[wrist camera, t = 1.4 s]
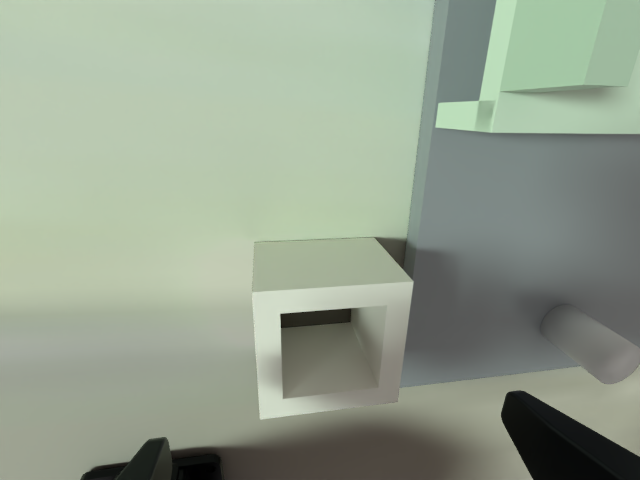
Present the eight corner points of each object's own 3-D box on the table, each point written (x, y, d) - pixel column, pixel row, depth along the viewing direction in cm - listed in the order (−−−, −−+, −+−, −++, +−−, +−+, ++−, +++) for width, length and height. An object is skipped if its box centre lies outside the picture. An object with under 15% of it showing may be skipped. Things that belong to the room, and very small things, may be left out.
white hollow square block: (366, 335, 16) (397, 402, 12) (259, 344, 15) (259, 419, 12) (373, 237, 14) (413, 281, 11) (254, 242, 13) (252, 292, 10)
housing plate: (620, 347, 19) (705, 402, 16) (390, 373, 17) (426, 444, 13) (807, -101, 12) (1043, -193, 9) (453, -158, 10) (567, -315, 6)
